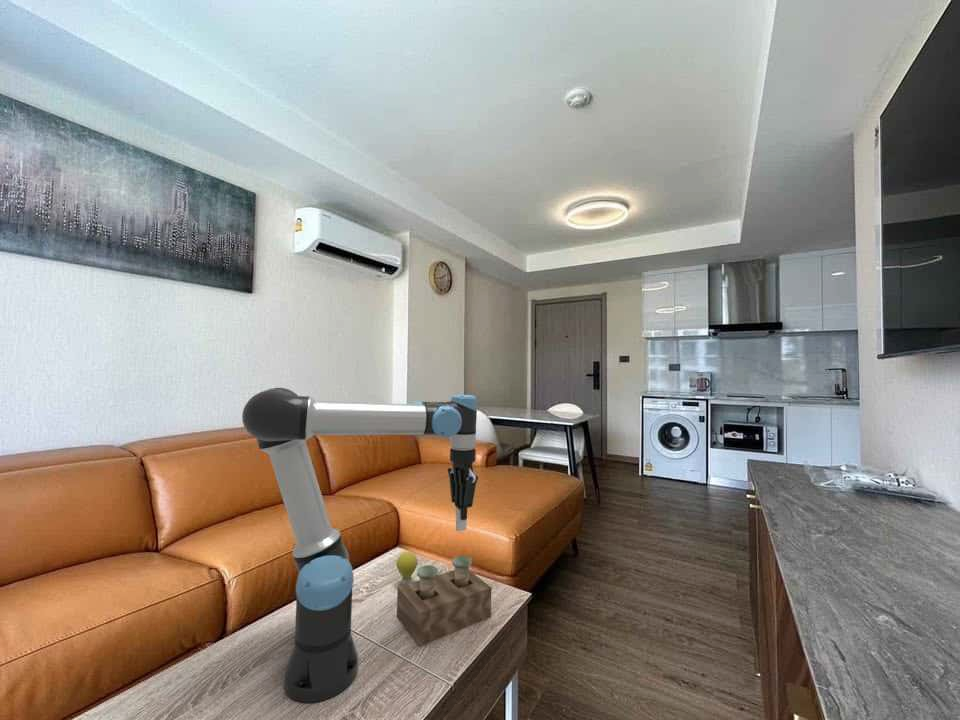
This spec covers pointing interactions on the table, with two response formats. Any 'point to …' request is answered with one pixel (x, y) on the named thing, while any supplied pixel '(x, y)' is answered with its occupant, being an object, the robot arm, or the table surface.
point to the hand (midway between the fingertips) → (461, 529)
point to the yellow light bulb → (406, 566)
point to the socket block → (443, 607)
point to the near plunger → (427, 581)
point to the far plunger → (461, 570)
